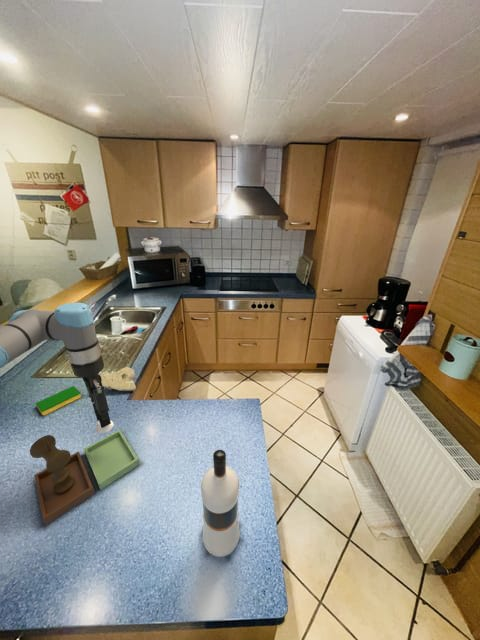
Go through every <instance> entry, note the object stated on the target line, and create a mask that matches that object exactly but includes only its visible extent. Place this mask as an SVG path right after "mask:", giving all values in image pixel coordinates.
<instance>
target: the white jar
mask: <svg viewBox="0 0 480 640" xmlns="http://www.w3.org/2000/svg"><path fill="white" fill-rule="evenodd" d="M110 421H111V424H109V425H107V426H105V427H103V428H101V425H100V422H99V421H98V420H97V424H96V426H95V433H97V434H100V435H103V434H106V433H108V432H110V431H112V429H113V428H114V425H115V424H114V422H113V421H112V420H111V419H110Z"/></svg>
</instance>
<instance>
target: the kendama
mask: <svg viewBox="0 0 480 640" xmlns="http://www.w3.org/2000/svg"><path fill="white" fill-rule="evenodd" d="M56 445H57V441H56V437H54V435H51V434H48V435H43V436H42V437H40V438H38V439H36V440H35V441H34V442H33V444H31V446H30V449H29V455H30V457H32V458H33V459H41V458H42V459H43V460H44V461H45V469H46V468H47V470H48V472H50V473H53V475H52V476H51V481H52V482H53V483H55V484H54V488H53V489H54V491H55V492H56V493H57V494H61V493H64V492H66V491H67V490H69V489H70V488H71V487H72V486H73V484H74V481H75V479H74V477H73V476H71V475H69V472H70V471H69V469H67V468H64V467H65V466H66V465H67V463H68V462H69V461H70V458H71V455H72V454H71V452H70V451H69V450H66V449H59V448H57V446H56Z"/></svg>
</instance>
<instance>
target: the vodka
mask: <svg viewBox="0 0 480 640" xmlns="http://www.w3.org/2000/svg"><path fill="white" fill-rule="evenodd" d="M212 459H213V461H212V462H213V466H212V467H210V468H209V469H207V470H206V472H205V473H204V475H203V477H202V479H201V482H200V493H201V501H202V521H203V525H202V542H203V546H204V548H205V549H206V551H207V552H208V553H209V554H210V555H212V556H213V557H217V558H222V557H226V556H229V555H230V554H231V553H233V551H234V550H235V549H236V547H237V546H238V543H239V540H240V536H241V533H240V524H239V520H238V519H239V514H240V513H239V512H240V511H239V496H240V480H239V476H238V475H237V473H236V472H235V470H234V469H233V468H231V466H228V465H227V463H226V462H227V454H226V451H224V450H223V449H216V450H215V451H214V452H213V455H212Z"/></svg>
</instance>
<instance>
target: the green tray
mask: <svg viewBox="0 0 480 640" xmlns="http://www.w3.org/2000/svg"><path fill="white" fill-rule="evenodd" d="M83 451H84V454H85V456H86V459H87V461H88V464H89V466H90V468H91V471H92V473H93V476H94V478H95V480H96V483H97V485H98V488H99V491H100V490H101V491H102V490H103V489H105V488H107V486H109V485H110V484H112V483H114V482H115V481H117V480H119V478H122V477H123V476H124V475H126V474H128V473H129V472H130V471H132V470H134V469H136V468H137V467H138V466H140V464H141V463H140V461H139V458H138V456H137V454H136V453H135V451H134V449H133V448H132V446H131V445H130V443H129V442H128V440H127V437H126V436H125V434H124V433H123V431H122V430H121V429H118V430H116V431H115V432H112V433H110V434H109V435H107V436H105V437H103V438H101V439H99V440H97V441H95V442H94V443H92V444H90V445H88V446H86V447H84V448H83Z"/></svg>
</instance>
